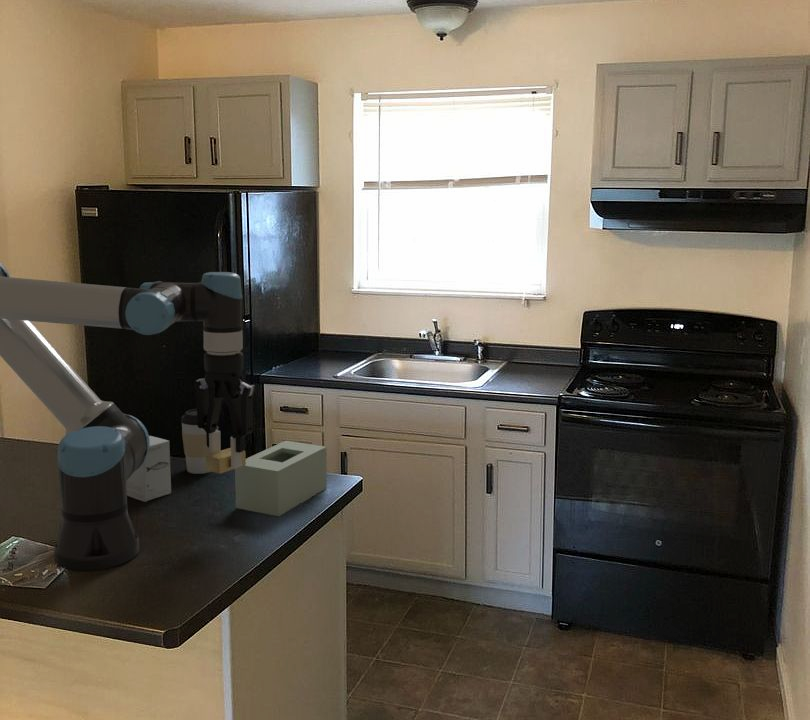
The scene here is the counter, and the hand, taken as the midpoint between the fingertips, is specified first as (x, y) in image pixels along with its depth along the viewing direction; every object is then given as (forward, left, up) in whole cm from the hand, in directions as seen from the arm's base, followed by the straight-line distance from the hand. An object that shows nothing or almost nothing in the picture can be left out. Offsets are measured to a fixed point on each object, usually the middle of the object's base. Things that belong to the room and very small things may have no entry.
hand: (226, 464), depth 178 cm
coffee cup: (+28, +29, -14) cm, 42 cm away
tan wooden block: (0, 0, 0) cm, 0 cm away
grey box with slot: (+20, 0, -13) cm, 24 cm away
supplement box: (+8, +28, -14) cm, 32 cm away
